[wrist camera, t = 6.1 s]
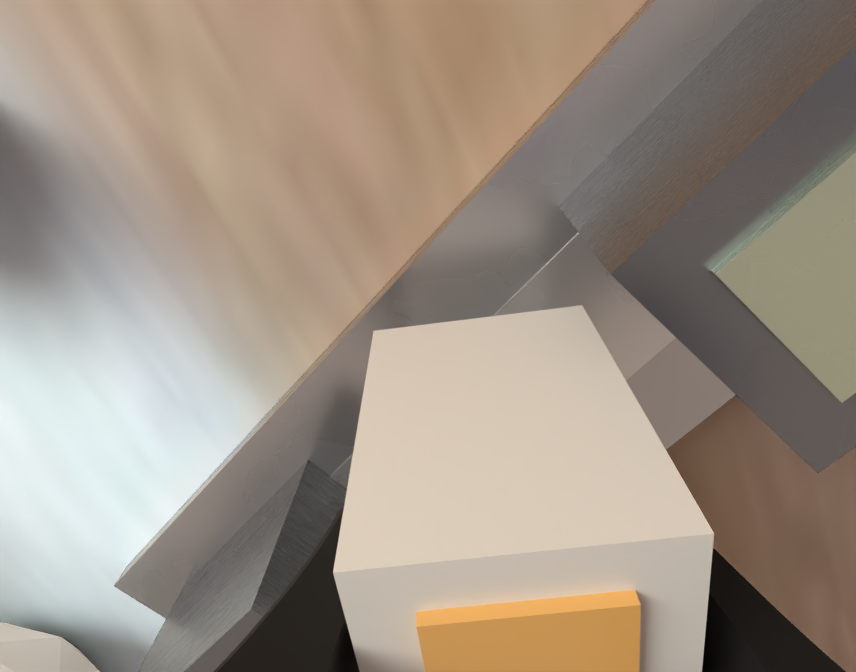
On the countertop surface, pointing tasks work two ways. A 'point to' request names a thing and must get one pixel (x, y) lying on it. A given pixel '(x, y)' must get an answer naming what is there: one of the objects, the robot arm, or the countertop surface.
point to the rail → (588, 284)
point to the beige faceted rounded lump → (38, 652)
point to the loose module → (515, 509)
